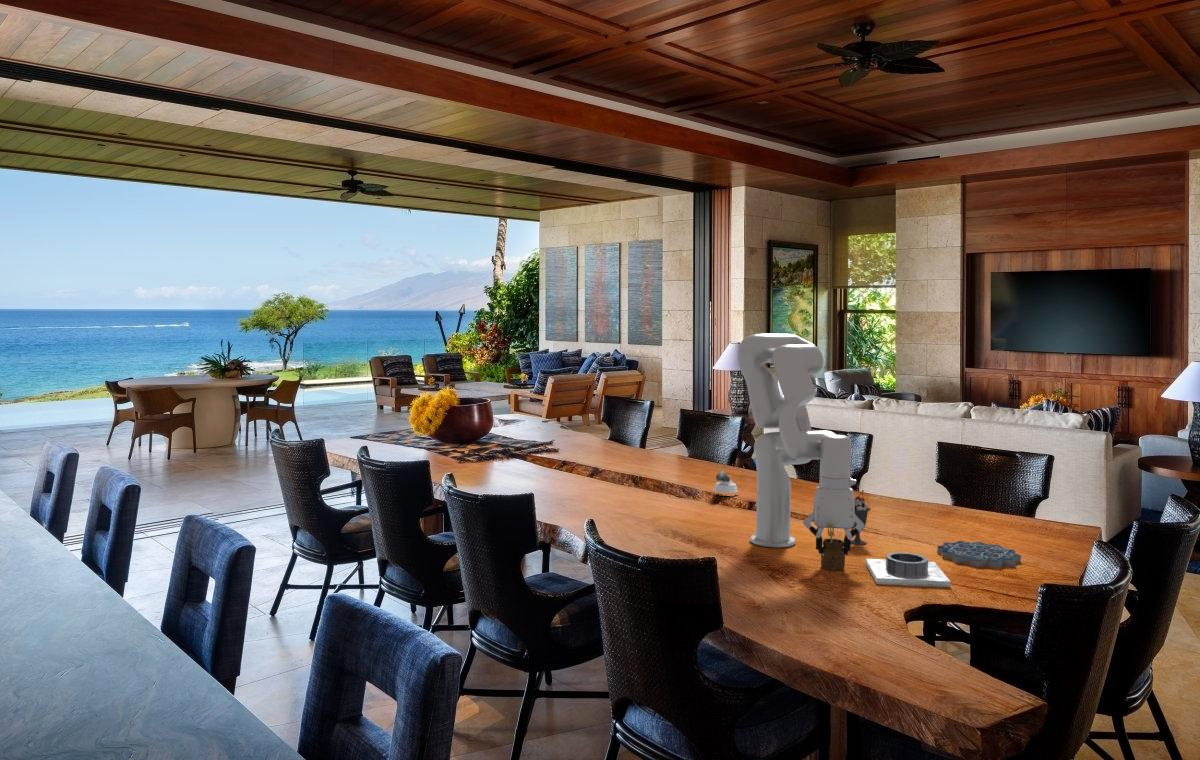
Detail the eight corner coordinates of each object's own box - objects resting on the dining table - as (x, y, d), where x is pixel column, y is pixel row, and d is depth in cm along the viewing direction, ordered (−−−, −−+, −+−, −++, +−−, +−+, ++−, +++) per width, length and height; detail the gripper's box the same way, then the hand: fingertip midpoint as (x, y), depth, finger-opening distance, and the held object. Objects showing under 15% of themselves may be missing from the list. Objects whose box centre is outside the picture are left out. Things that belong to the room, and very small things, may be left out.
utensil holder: (847, 566, 219) (848, 520, 218) (840, 572, 214) (842, 525, 213) (824, 563, 222) (825, 518, 221) (817, 569, 217) (818, 522, 216)
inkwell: (739, 492, 313) (740, 466, 313) (734, 502, 296) (735, 474, 295) (714, 491, 316) (715, 464, 315) (708, 501, 298) (708, 473, 298)
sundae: (869, 540, 245) (870, 489, 244) (869, 546, 239) (871, 494, 238) (845, 539, 247) (846, 488, 246) (845, 544, 241) (847, 492, 240)
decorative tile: (951, 545, 243) (951, 537, 243) (1027, 557, 230) (1027, 549, 230) (927, 560, 227) (928, 551, 227) (1008, 574, 215) (1008, 565, 214)
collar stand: (865, 564, 222) (866, 547, 221) (934, 567, 219) (934, 550, 219) (876, 583, 205) (877, 565, 204) (950, 587, 202) (951, 569, 202)
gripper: (867, 481, 219) (865, 550, 220) (799, 479, 222) (797, 547, 223) (872, 487, 211) (869, 558, 213) (801, 484, 214) (799, 555, 215)
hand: (832, 552), depth 218 cm, fingers closed on utensil holder, 5 cm apart
